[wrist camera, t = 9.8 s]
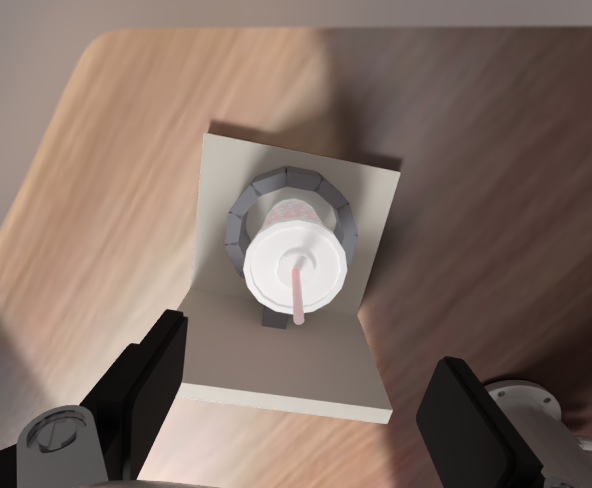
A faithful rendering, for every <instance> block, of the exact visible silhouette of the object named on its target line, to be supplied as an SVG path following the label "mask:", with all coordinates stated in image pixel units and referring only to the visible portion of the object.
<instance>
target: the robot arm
mask: <svg viewBox="0 0 592 488" xmlns="http://www.w3.org/2000/svg"><path fill="white" fill-rule="evenodd" d="M187 328H188V317H185V316H184V314H183V312H181V311H175V310H169V309H166V310H165V311H164V313H163V314H162V315H161V317H160V318H159V319H158V320H157V322H156V323H155V324H154V326H153V327H152V328H151V330H150V331H149V332H148V333H147V335H146V336H145V337H144V339H143V340H142V341H141V342H140V344H135V343H131V344H129V345H128V346H127V347H126V349H125V350H124V351H123V352H122V353H121V355H120V356H119V357H118V358H117V359H116V361H115V362H114V363H113V364H112V366H111V367H110V368H109V369H108V370H107V372H106V373H105V374H104V375H103V377H102V378H101V379H100V380H99V381H98V383H97V384H96V385H95V386H94V387H93V389H92V390H91V391H90V392H89V394H88V395H87V396H86V397H85V398H84V400H83V401H82V402H81V403H80V404H79V406H77V405H66V406H61V407H57V408H54V409H51V410H49V411H47V412H44V413H42V414H41V415H39V416H38V417H36V418H35V419H33V420H32V421H31V422H30V423H29V424H28V425H27V426H26V427H25V428H24V429H23V431H22V432H21V434H20V435H19V437H18V442H17V444H15V445H12V446H10V447H8V448H5V449H3V450H0V488H218V487H209V486H200V485H191V484H182V483H173V482H162V481H145V480H136V479H137V477H138V475H139V473H140V471H141V469H142V467H143V464H144V462H145V460H146V458H147V456H148V454H149V452H150V450H151V448H152V445H153V443H154V441H155V439H156V437H157V435H158V433H159V431H160V428H161V426H162V424H163V422H164V420H165V418H166V416H167V414H168V412H169V409H170V407H171V405H172V403H173V401H174V399H175V397H176V395H177V393H178V390H179V388H180V386H181V383H182V379H183V370H184V359H185V349H186V338H187ZM416 422H417V425H418V428H419V430H420V432H421V435H422V437H423V440H424V442H425V444H426V447H427V449H428V451H429V454H430V456H431V458H432V461H433V463H434V466H435V468H436V470H437V473H438V475H439V477H440V480H441V482H442V484H443V487H444V488H592V455H591V454H590V453H589V452H587V451H585V450H592V439H591V438H589V437H588V436H582V435H574V434H573V433H572V432H571V431H570V430H569V429H568V428H567V427H566V426H565V425H564V424H563V423H562V422H561V408H560V405H559V403H558V402H557V400H556V399H555V397H554V396H553V395H552V394H551V393H550V392H548V391H547V390H546V389H545V388H544V387H542V386H540V385H539V384H536V383H533V382H530V381H524V380H505V381H499V382H495V383H492V384H489V385H486V386H483V385H482V383H481V382H480V381H479V380H478V378H477V377H476V376H475V374H474V373H473V372H472V370H471V369H470V368H469V366H468V365H467V364H466V362H465V361H464V360H463V359H460V358H454V357H448V356H446V357H444V358H443V360H439V362H438V364H437V366H436V368H435V371H434V373H433V375H432V378H431V380H430V383H429V385H428V387H427V390H426V392H425V395H424V397H423V399H422V402H421V404H420V407H419V409H418V411H417V414H416ZM583 449H585V450H583Z"/></svg>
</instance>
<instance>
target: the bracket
mask: <svg viewBox="0 0 592 488" xmlns="http://www.w3.org/2000/svg"><path fill="white" fill-rule="evenodd" d="M400 174H401V172H398V171H394V170H390V169H385V168H380V167H375V166H370V165H365V164H360V163H355V162H350V161H345V160H340V159H335V158H330V157H325V156H320V155H316V154H311V153H306V152H301V151H296V150H291V149H286V148H281V147H276V146H271V145H266V144H261V143H256V142H251V141H246V140H241V139H237V138H232V137H227V136H222V135H217V134H212V133H204V135H203V146H202V158H201V169H200V180H199V192H198V203H197V215H196V226H195V238H194V249H193V260H192V272H191V283H190V290H189V291H188V293H187V295H186V296H185V298H184V299H183V301H182V303H181V304H180V306H179V307H178V309H177V311H181V312H183V314H184V316H185V317H188V328H187V338H186V349H185V359H184V370H183V379H182V383H181V386H180V388H179V390H178V393H177V395H176V397H178V398H186V399H193V400H201V401H209V402H217V403H225V404H233V405H241V406H249V407H257V408H264V409H272V410H280V411H288V412H296V413H304V414H312V415H320V416H328V417H335V418H343V419H351V420H359V421H367V422H375V423H383V424H387V423H388V421H389V418H390V416H391V413H392V411H393V410H392V407H391V404H390V402H389V399H388V396H387V394H386V391H385V388H384V386H383V383H382V380H381V378H380V375H379V372H378V370H377V367H376V364H375V362H374V359H373V356H372V354H371V351H370V348H369V345H368V343H367V340H366V337H365V335H364V332H363V329H362V327H361V324H360V321H359V319H358V316H357V314H358V311H359V308H360V304H361V301H362V298H363V295H364V291H365V288H366V285H367V282H368V278H369V275H370V272H371V268H372V265H373V262H374V259H375V255H376V252H377V249H378V246H379V242H380V239H381V236H382V232H383V229H384V226H385V223H386V219H387V216H388V213H389V210H390V206H391V203H392V200H393V196H394V193H395V190H396V187H397V183H398V180H399V177H400ZM288 199H297V200H301V201H304V202H306V203H307V204H309V205H310V206H312V207H313V209H314V211H315V212H316V214H317V215H318V217H319V219H320V220H321V222H322V223H323V225H324V226H325V227H326V228H328V229H329V230H331V231H332V232H333V233H334V235H335V236H336V238H337V240H338V241H339V243H340V245H341V246H342V248H343V249H344V251H345V256H346V264H347V273H346V276H345V280H344V283H343V286H342V289H341V290H340V291H339V292H338V293H337V294H336V296H335V297H334V298H333V299H332V300H331V302H330V303H328V304H326V305H324V306H322V307H321V308H319V309H317V310H315V311H313V312H308V313H304V322H303V324H300V325H297V324H295V323H294V319H293V314H288V313H282V312H276V311H274V310H272V309H270V308H269V307H267V306H265V305H264V304H262V303H260V302H259V301H258V300H257V299H256V297H255V296H254V295H253V293H252V292H251V291H250V290H249V288H248V287H247V283H246V279H245V275H244V271H243V267H244V262H245V257H246V251H247V248H248V247H249V245H250V243H251V242H252V240H253V239H254V238H255V236H256V235H257V233H258V232H259V231H260V230H261V228H262V226H263V224H264V221H265V219H266V217H267V215H268V213H269V212H270V211H271V209H272V208H273V206H275V205H276V204H278V203H279V202H281V201H283V200H288Z"/></svg>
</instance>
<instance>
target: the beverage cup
mask: <svg viewBox="0 0 592 488" xmlns="http://www.w3.org/2000/svg"><path fill="white" fill-rule="evenodd" d="M243 271H244V275H245V279H246V283H247V287H248V288H249V290H250V291H251V292H252V293H253V295H254V296H255V297H256V299H257V300H258V301H259V302H260V303H262V304H264V305H265V306H267V307H269V308H270V309H272V310H274V311H276V312H282V313H288V314H293V319H294V323H295V324H297V325H300V324H303V322H304V313H308V312H313V311H315V310H317V309H319V308H321V307H322V306H324V305H326V304H328V303H330V302H331V300H332V299H333V298H334V297H335V296H336V294H337V293H338V292H339V291H340V290H341V289H342V286H343V283H344V280H345V276H346V273H347V264H346V256H345V251H344V249H343V248H342V246H341V245H340V243H339V241H338V240H337V238H336V236H335V235H334V233H333V232H332V231H331V230H329V229H328V228H326V227H325V226H324V225H323V223H322V222H321V220H320V219H319V217H318V215H317V214H316V212H315V211H314V209H313V207H312V206H310V205H309V204H307V203H306V202H304V201H301V200H297V199H288V200H283V201H281V202H279V203H278V204H276V205H275V206H273V208H272V209H271V211H270V212H269V213H268V215H267V217H266V219H265V221H264V224H263V226H262V228H261V230H260V231H259V232H258V233H257V235H256V236H255V238H254V239H253V240H252V242H251V243H250V245H249V247H248V248H247V251H246V257H245V262H244V267H243Z"/></svg>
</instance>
